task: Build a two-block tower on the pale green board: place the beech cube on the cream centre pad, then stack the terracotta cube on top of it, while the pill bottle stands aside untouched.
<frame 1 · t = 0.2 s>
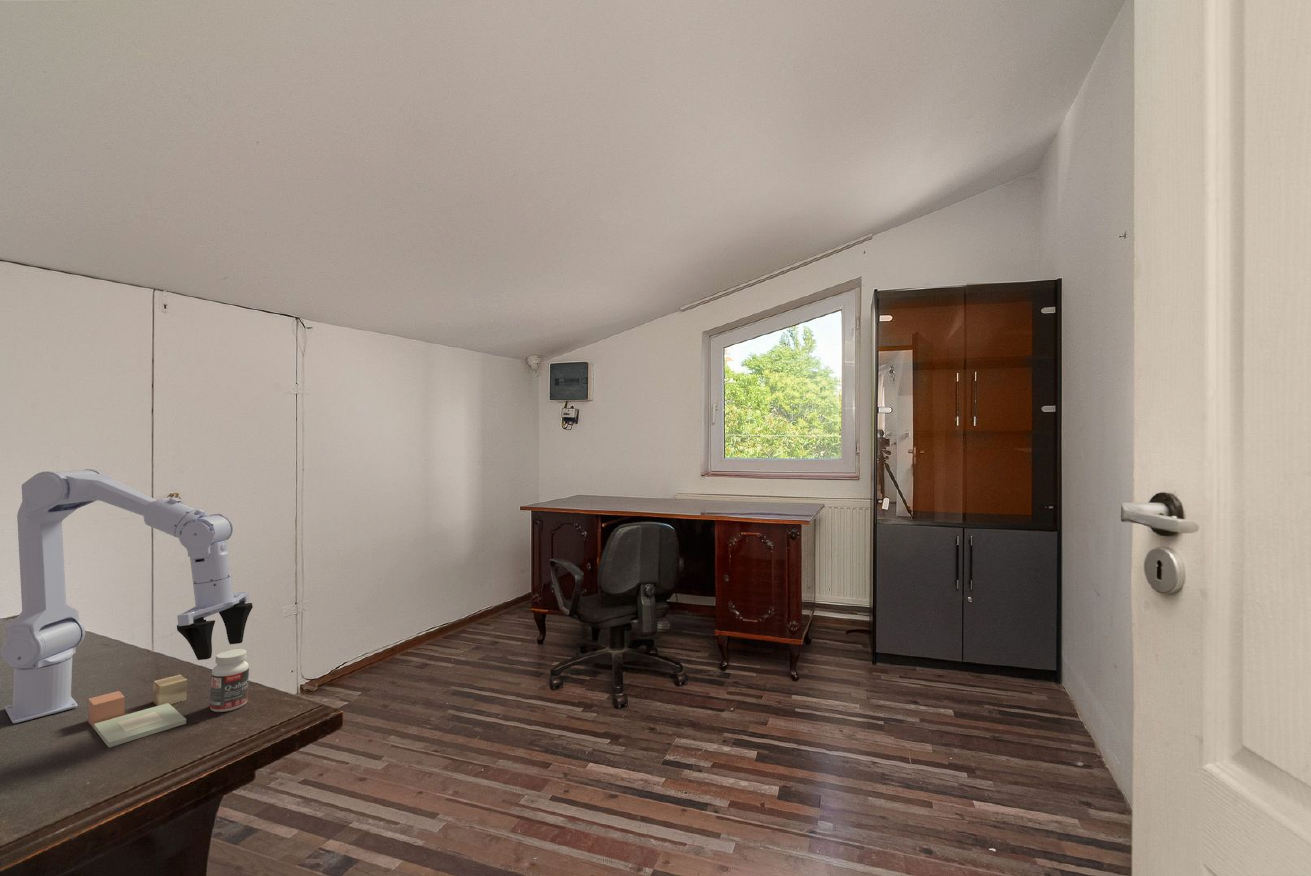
hand: (220, 650, 106), 10 cm above the table, tool pointing down, fingers open, 7 cm apart
terracotta cube: (105, 720, 100), on the table
board: (140, 725, 98), on the table
pill bottle: (229, 707, 106), on the table
beech cube: (169, 701, 108), on the table
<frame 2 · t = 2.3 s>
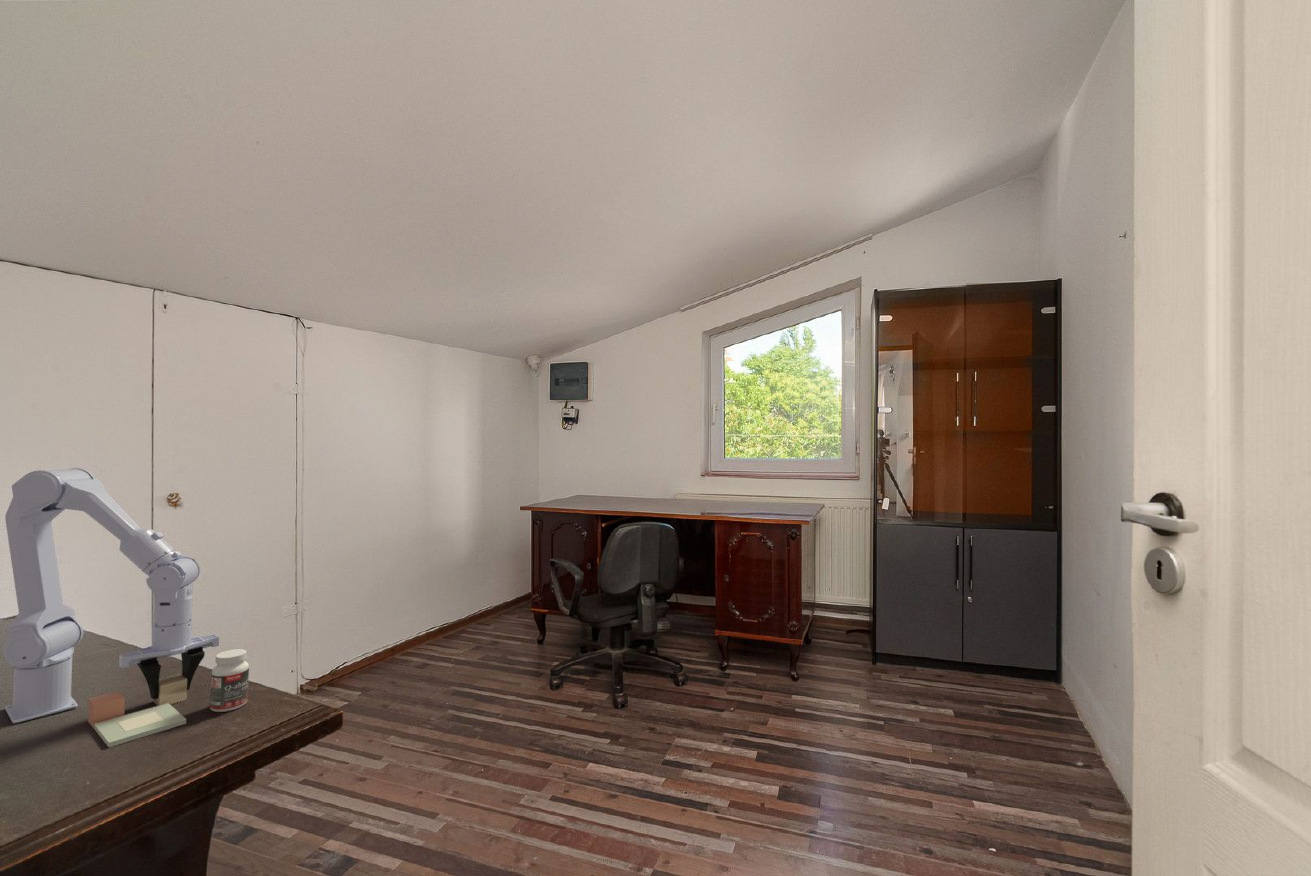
hand: (170, 693, 108), 1 cm above the table, tool pointing down, fingers closed on beech cube, 4 cm apart
beech cube: (169, 700, 108), on the table, touching gripper
everything else where it was.
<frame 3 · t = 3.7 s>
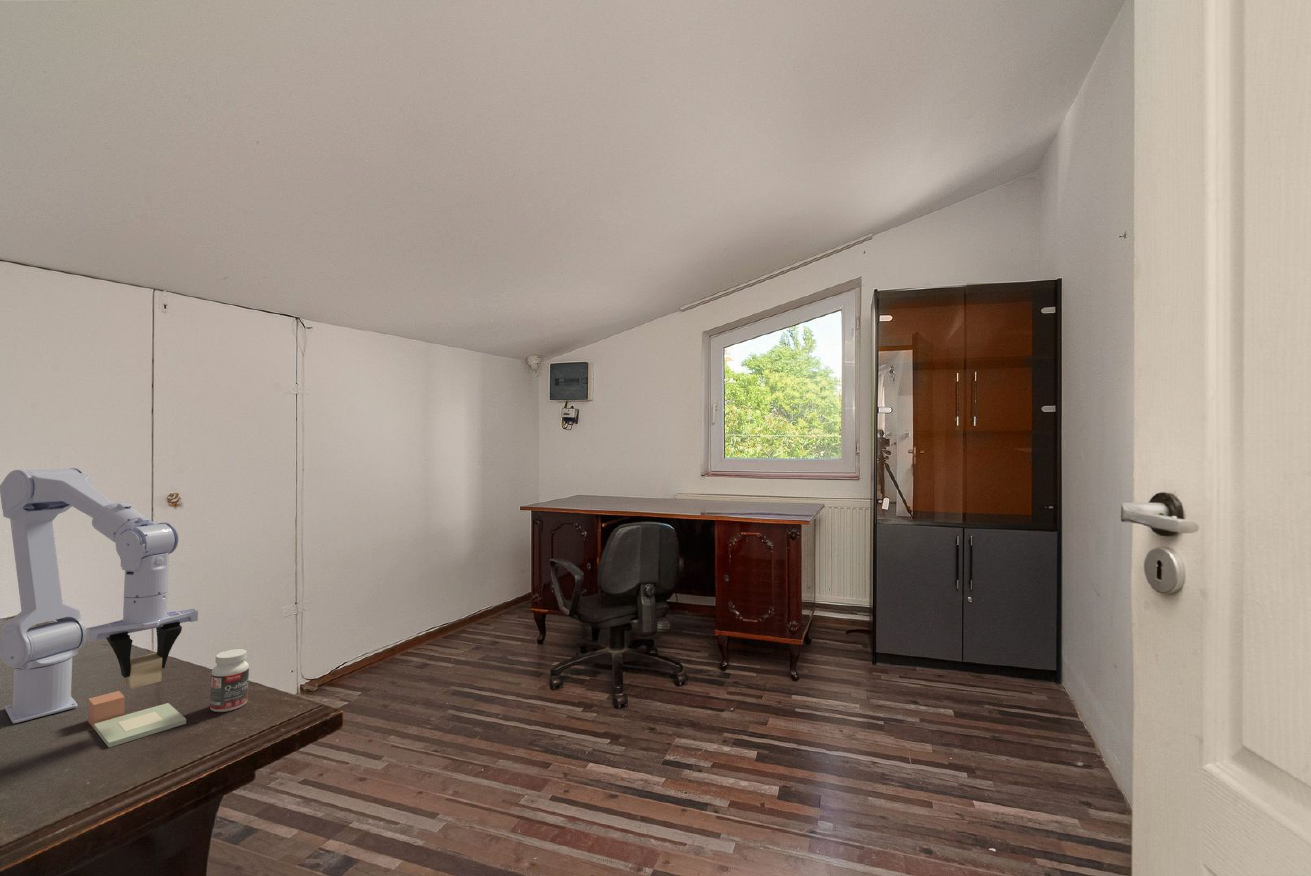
hand: (143, 671, 99), 9 cm above the table, tool pointing down, fingers closed on beech cube, 4 cm apart
beech cube: (143, 681, 98), point 8 cm above the table, touching gripper
everything else where it was.
when the fingers open (3 cm above the table, at t = 5.3 s): beech cube stays where it is, resting on board.
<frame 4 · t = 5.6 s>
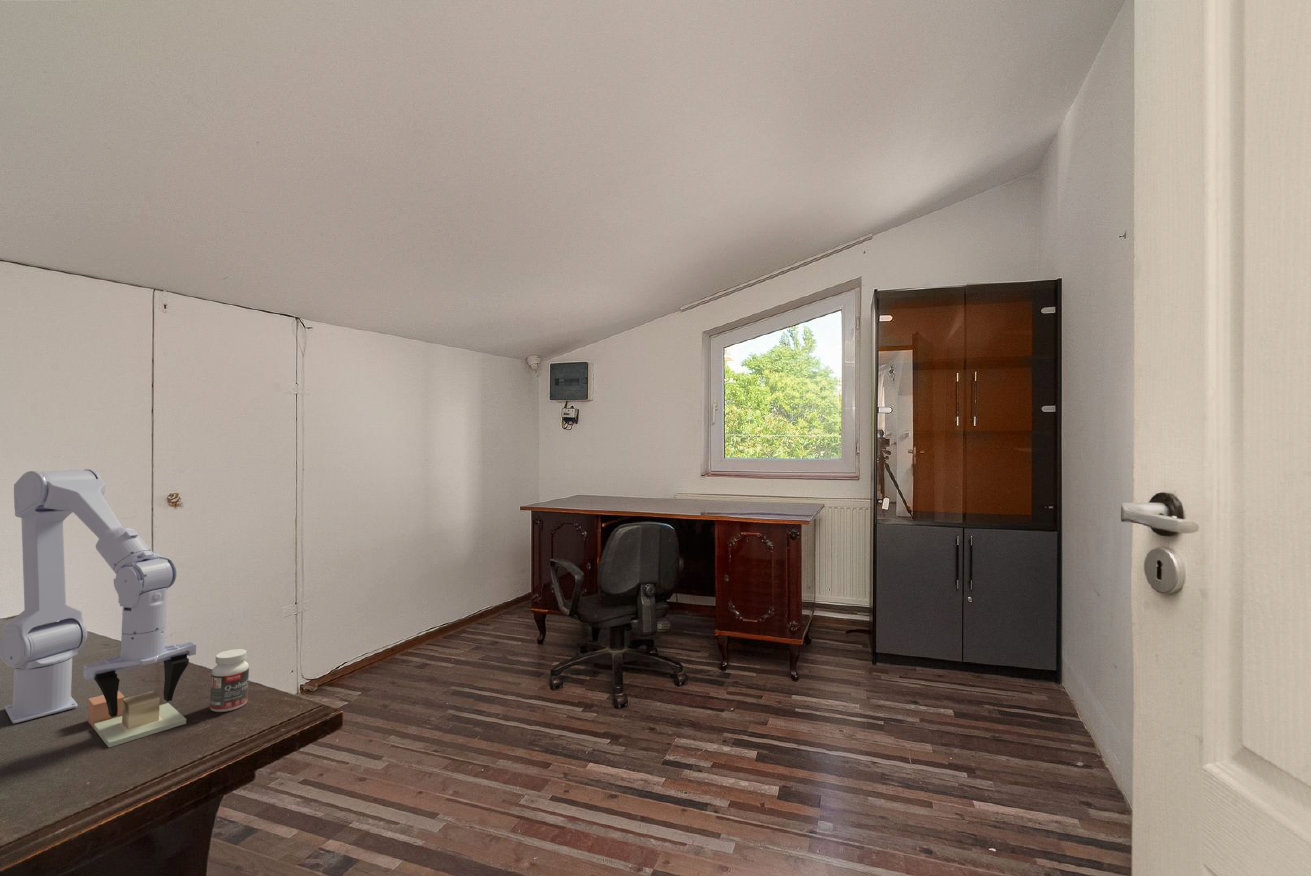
hand: (141, 706, 98), 3 cm above the table, tool pointing down, fingers open, 7 cm apart
beech cube: (140, 721, 98), point 1 cm above the table, touching board
everything else where it was.
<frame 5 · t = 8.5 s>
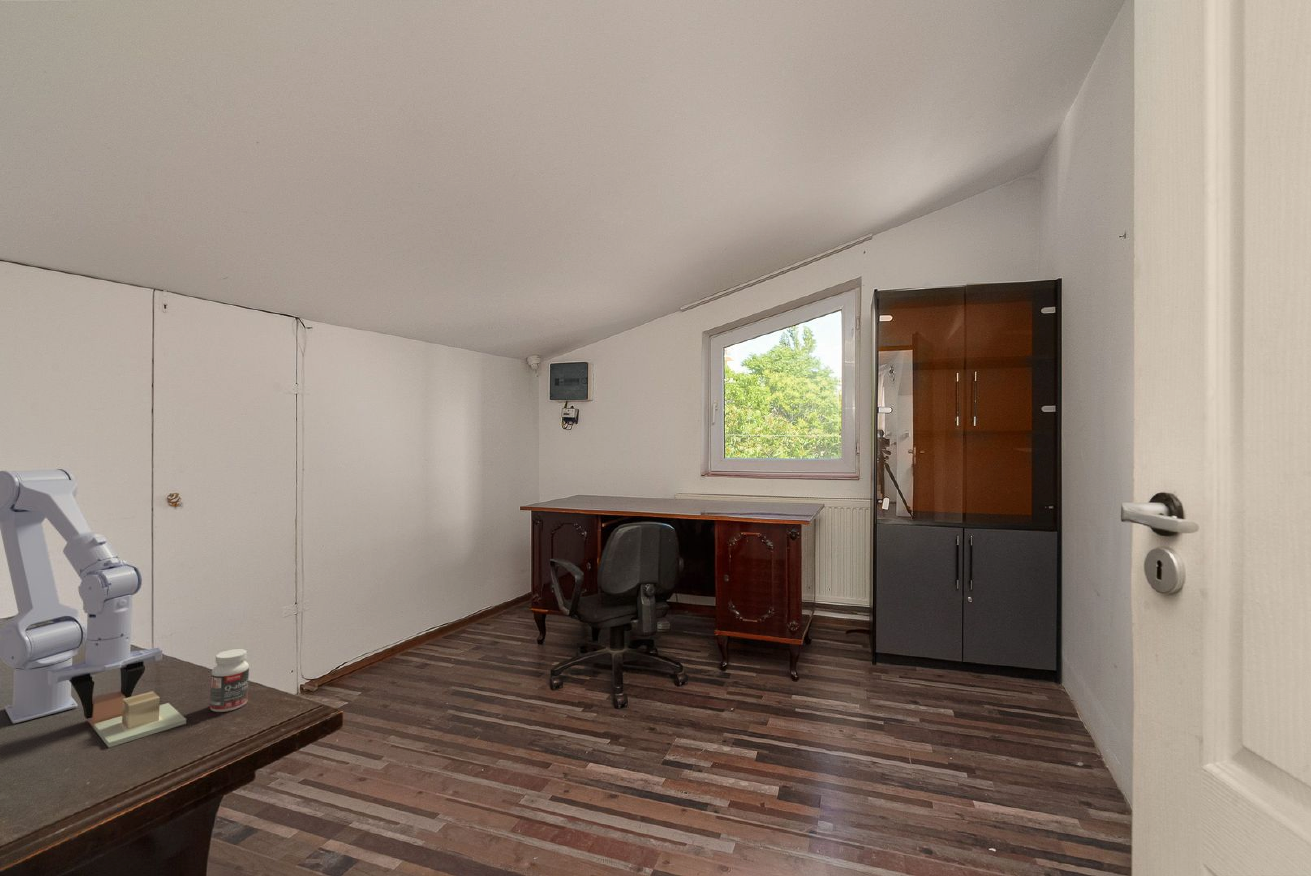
hand: (106, 711, 100), 1 cm above the table, tool pointing down, fingers closed on terracotta cube, 4 cm apart
terracotta cube: (106, 719, 100), on the table, touching gripper
everything else where it was.
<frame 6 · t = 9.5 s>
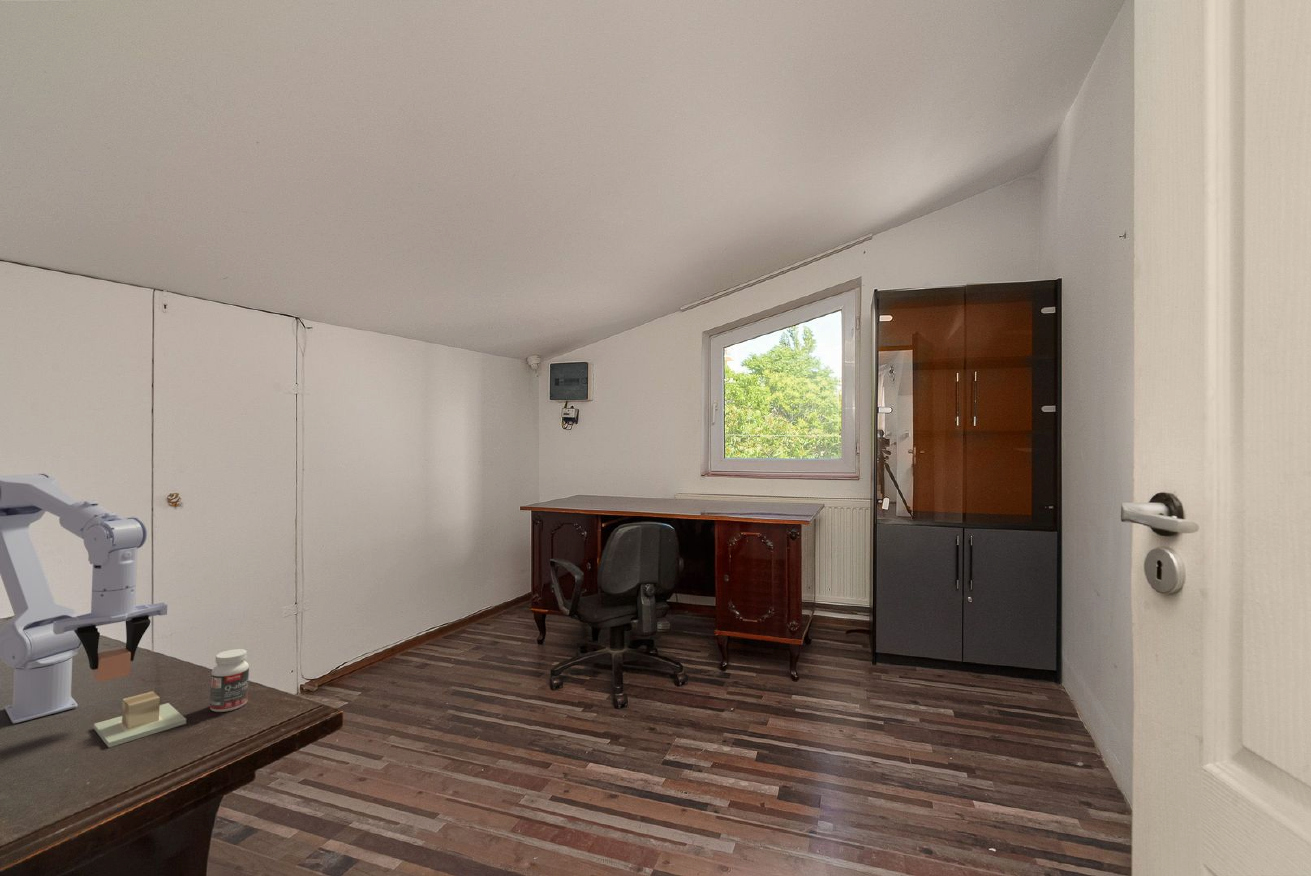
hand: (111, 663, 100), 10 cm above the table, tool pointing down, fingers closed on terracotta cube, 4 cm apart
terracotta cube: (111, 675, 100), point 8 cm above the table, touching gripper
everything else where it was.
when the fingers open (7 cm above the table, at t = 10.9 s): terracotta cube stays where it is, resting on beech cube.
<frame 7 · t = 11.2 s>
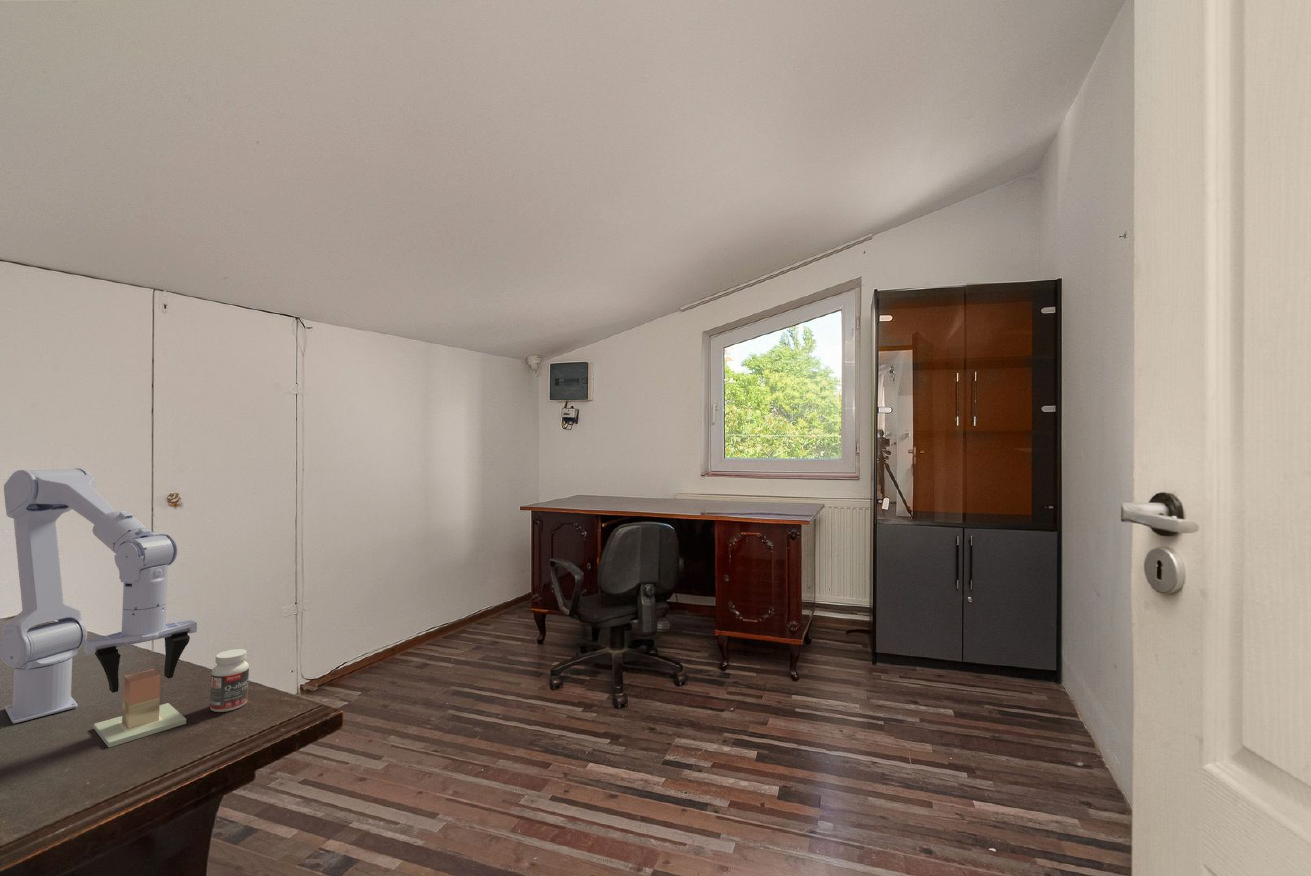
hand: (142, 683, 98), 7 cm above the table, tool pointing down, fingers open, 7 cm apart
terracotta cube: (141, 698, 98), point 5 cm above the table, touching beech cube
beech cube: (140, 721, 98), point 1 cm above the table, touching board, terracotta cube
everything else where it was.
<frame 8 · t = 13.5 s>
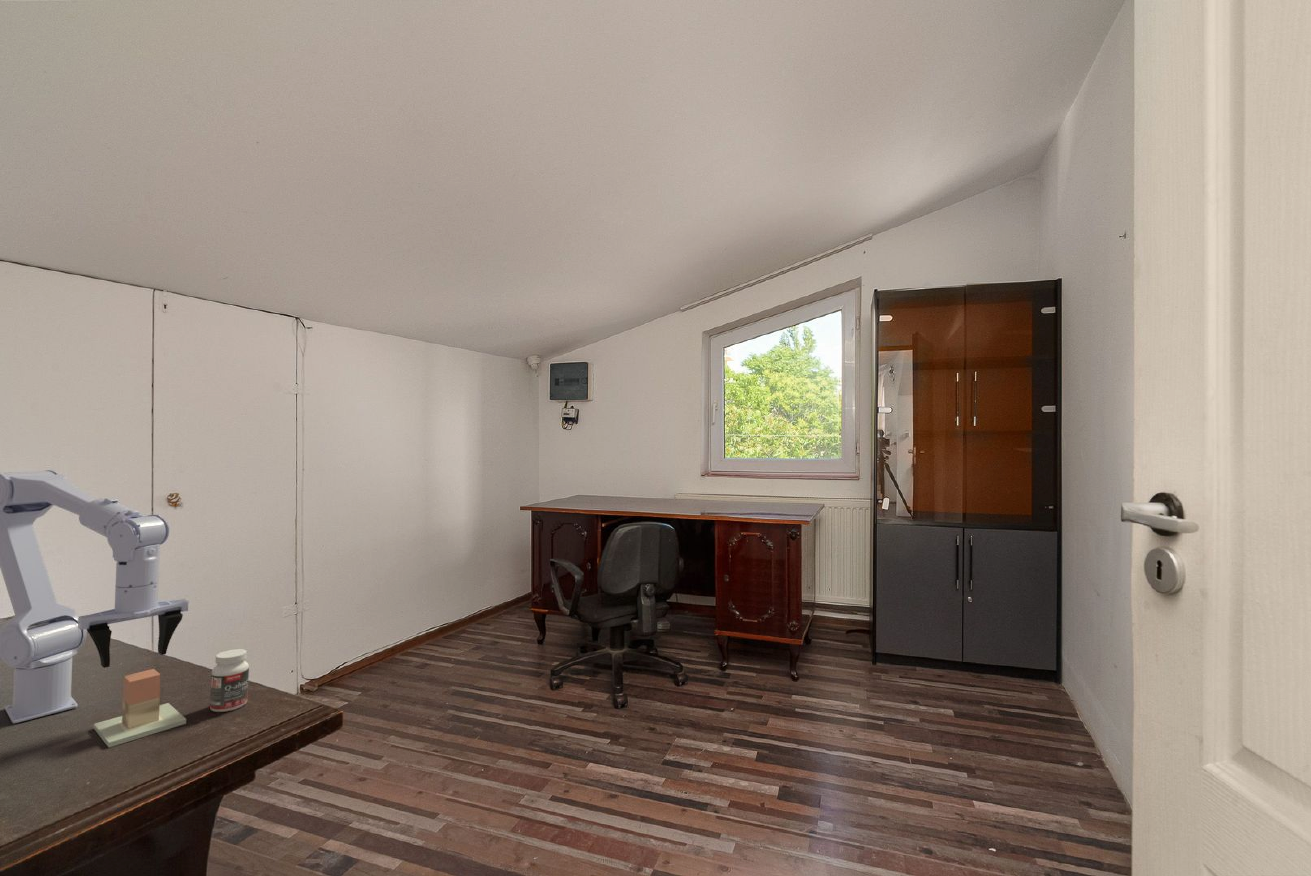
hand: (134, 659, 101), 10 cm above the table, tool pointing down, fingers open, 7 cm apart
nothing on the table moved.
at the end: beech cube 0.0 cm off-centre on the board, point 0.8 cm above the board's base; terracotta cube 0.0 cm off-centre on the beech cube, point 4.0 cm above the beech cube's base; terracotta cube tilted 0° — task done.
